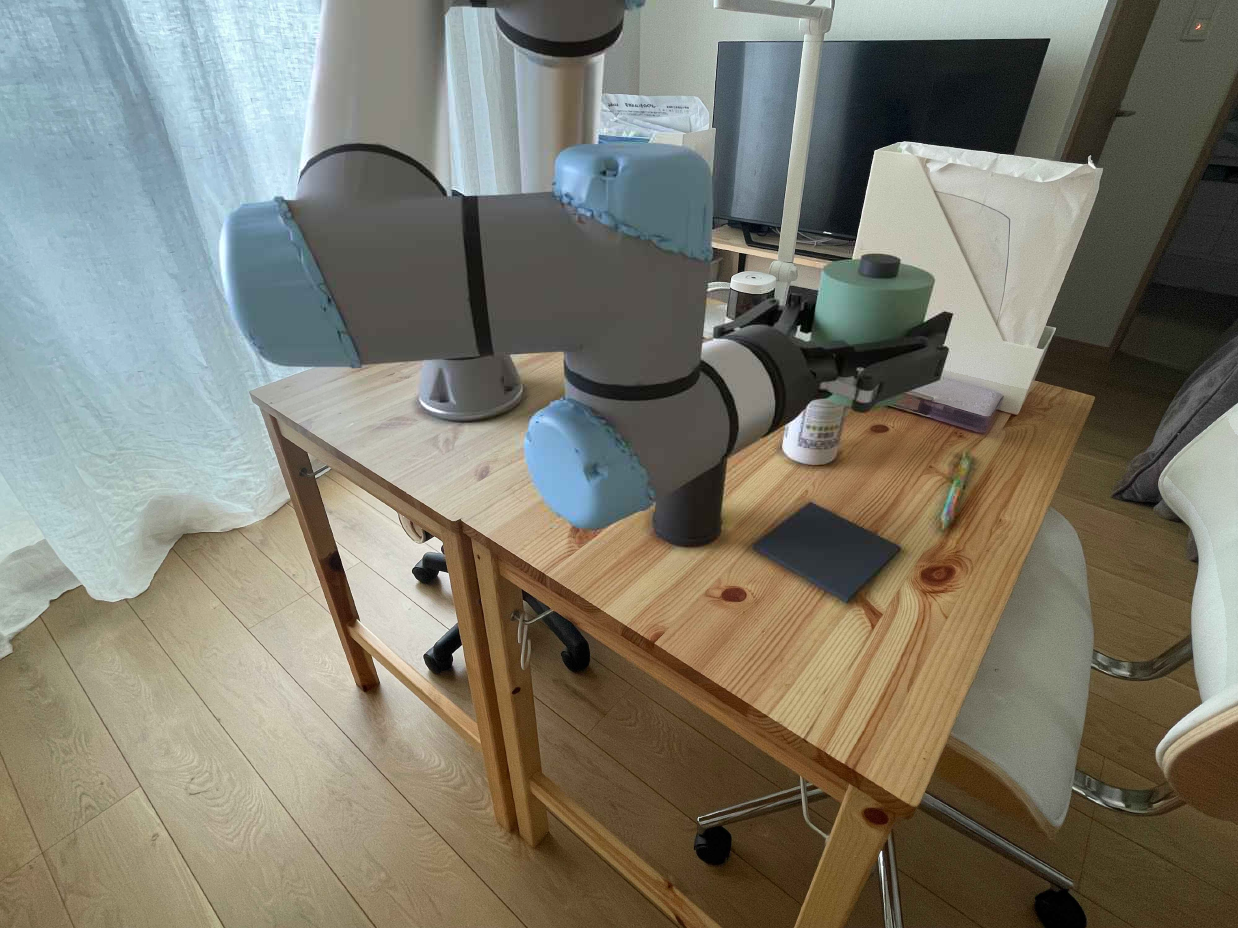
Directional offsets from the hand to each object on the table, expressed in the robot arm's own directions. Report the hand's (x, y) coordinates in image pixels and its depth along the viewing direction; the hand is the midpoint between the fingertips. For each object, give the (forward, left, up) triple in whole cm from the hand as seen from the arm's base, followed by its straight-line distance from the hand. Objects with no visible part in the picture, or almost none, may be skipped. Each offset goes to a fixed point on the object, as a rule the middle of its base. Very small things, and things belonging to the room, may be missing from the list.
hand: (891, 314), depth 56 cm
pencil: (0, +18, -25) cm, 30 cm away
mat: (+2, -3, -24) cm, 25 cm away
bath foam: (-14, +7, -25) cm, 29 cm away
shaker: (-7, -15, -24) cm, 30 cm away
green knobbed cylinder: (+2, -4, -5) cm, 7 cm away
